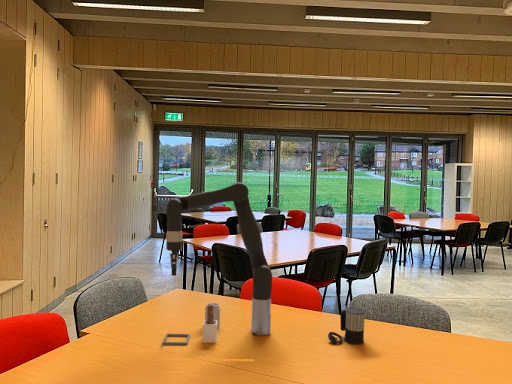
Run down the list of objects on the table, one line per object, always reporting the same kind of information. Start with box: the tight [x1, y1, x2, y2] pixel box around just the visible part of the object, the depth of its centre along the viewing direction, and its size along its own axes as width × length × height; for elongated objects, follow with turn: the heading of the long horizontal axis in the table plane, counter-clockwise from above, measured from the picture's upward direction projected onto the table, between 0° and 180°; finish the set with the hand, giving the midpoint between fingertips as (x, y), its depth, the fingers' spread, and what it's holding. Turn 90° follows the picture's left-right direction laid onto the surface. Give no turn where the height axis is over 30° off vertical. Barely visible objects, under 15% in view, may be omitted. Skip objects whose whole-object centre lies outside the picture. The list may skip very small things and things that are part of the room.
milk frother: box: [327, 307, 366, 345], centre depth 208 cm, size 14×16×15 cm
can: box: [204, 302, 221, 329], centre depth 220 cm, size 8×8×12 cm
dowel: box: [206, 304, 214, 324], centre depth 202 cm, size 3×3×16 cm
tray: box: [162, 333, 191, 347], centre depth 201 cm, size 11×11×2 cm
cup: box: [201, 319, 218, 344], centre depth 202 cm, size 6×6×9 cm
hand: (174, 273), depth 212 cm, fingers open, 8 cm apart
